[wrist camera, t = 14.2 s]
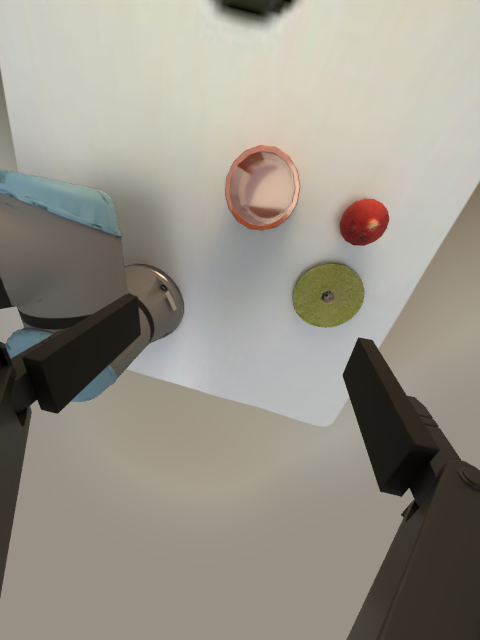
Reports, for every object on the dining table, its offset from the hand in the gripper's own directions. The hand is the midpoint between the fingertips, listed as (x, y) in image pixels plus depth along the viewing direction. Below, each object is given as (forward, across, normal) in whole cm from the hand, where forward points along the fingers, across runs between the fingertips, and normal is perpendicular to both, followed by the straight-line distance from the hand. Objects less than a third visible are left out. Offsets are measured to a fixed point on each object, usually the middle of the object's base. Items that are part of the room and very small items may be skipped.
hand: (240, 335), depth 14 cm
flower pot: (+29, -2, +8) cm, 30 cm away
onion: (+29, +12, +6) cm, 32 cm away
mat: (+29, +11, -6) cm, 31 cm away
